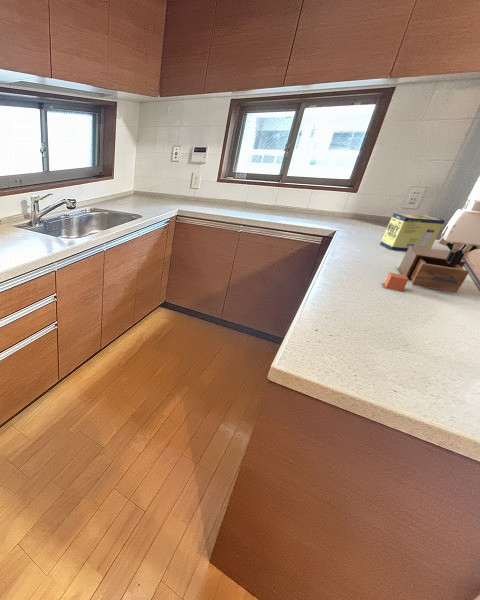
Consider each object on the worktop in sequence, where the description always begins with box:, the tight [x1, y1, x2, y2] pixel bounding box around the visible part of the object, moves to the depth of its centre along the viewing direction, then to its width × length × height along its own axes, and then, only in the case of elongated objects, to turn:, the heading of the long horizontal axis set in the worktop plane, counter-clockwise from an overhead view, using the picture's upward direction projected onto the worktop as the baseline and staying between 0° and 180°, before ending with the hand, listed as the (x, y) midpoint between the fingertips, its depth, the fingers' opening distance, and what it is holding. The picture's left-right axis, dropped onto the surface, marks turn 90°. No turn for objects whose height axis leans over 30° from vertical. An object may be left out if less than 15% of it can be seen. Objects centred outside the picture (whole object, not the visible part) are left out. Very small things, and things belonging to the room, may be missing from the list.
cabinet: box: [398, 246, 466, 281], centre depth 122 cm, size 15×13×10 cm
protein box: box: [380, 213, 446, 252], centre depth 155 cm, size 10×16×16 cm
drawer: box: [410, 257, 470, 294], centre depth 114 cm, size 18×11×8 cm, turn 145°
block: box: [383, 272, 410, 292], centre depth 113 cm, size 4×4×4 cm
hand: (451, 263), depth 106 cm, fingers closed
